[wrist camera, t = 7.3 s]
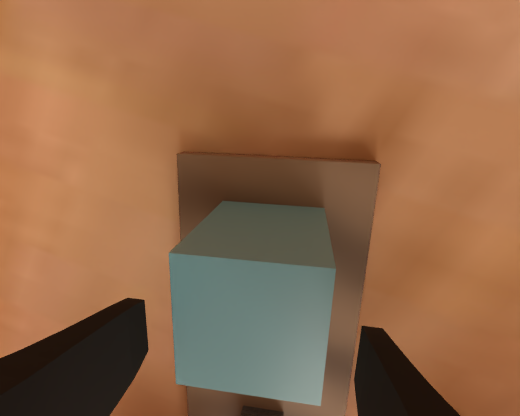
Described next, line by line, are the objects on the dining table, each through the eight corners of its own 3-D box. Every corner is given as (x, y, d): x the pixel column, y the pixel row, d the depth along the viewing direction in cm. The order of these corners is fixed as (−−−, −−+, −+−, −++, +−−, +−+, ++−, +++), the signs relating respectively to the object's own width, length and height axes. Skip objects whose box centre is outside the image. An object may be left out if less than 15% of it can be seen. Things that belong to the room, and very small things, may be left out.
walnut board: (333, 477, 22) (334, 494, 21) (194, 452, 23) (190, 466, 22) (376, 161, 15) (380, 163, 14) (184, 151, 17) (176, 153, 16)
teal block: (315, 299, 17) (320, 406, 11) (223, 289, 18) (176, 383, 11) (324, 208, 15) (336, 268, 9) (222, 200, 16) (168, 252, 10)
